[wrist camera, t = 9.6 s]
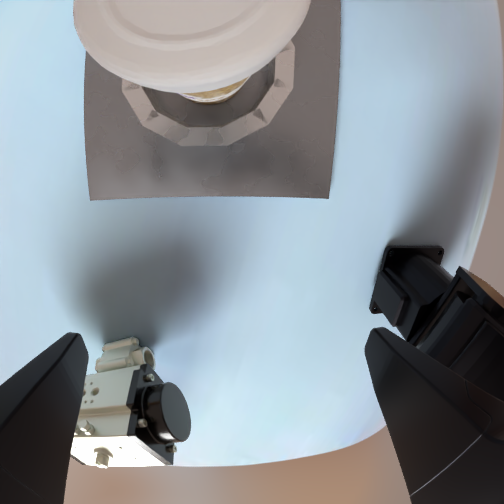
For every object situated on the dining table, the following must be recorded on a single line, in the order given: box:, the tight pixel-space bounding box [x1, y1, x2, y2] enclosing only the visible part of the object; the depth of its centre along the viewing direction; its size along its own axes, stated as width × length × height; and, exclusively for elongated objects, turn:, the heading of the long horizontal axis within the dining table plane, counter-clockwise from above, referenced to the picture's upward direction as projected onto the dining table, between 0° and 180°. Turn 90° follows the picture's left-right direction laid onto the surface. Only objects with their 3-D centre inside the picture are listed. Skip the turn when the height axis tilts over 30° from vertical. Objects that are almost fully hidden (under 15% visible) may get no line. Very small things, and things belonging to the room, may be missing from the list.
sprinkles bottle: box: [73, 0, 311, 105], centre depth 9 cm, size 5×5×14 cm
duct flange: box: [84, 0, 341, 201], centre depth 14 cm, size 16×16×3 cm
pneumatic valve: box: [70, 337, 191, 468], centre depth 19 cm, size 6×12×12 cm, turn 108°
